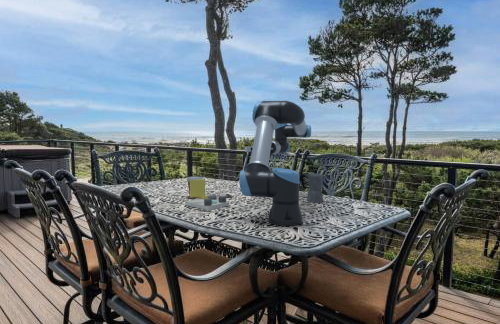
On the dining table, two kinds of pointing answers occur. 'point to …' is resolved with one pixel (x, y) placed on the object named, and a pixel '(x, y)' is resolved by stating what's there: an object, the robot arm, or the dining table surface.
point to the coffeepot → (314, 186)
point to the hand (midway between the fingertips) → (245, 149)
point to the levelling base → (201, 204)
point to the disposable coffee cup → (189, 183)
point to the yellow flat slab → (199, 190)
